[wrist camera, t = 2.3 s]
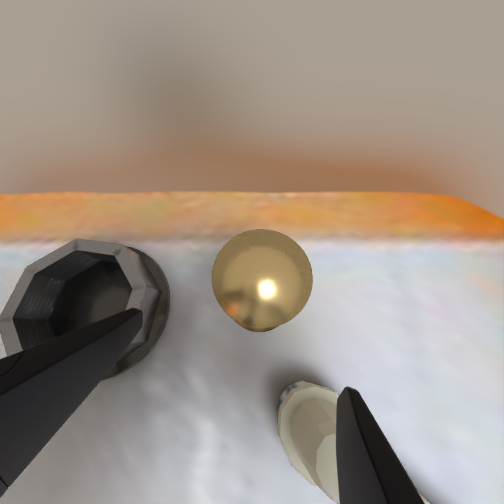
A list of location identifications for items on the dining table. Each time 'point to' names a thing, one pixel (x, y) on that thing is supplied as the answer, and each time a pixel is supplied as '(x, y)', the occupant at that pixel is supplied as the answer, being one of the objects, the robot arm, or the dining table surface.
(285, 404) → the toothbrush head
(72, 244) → the collar fitting
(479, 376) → the dining table surface
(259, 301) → the gold bulb-shaped piece
